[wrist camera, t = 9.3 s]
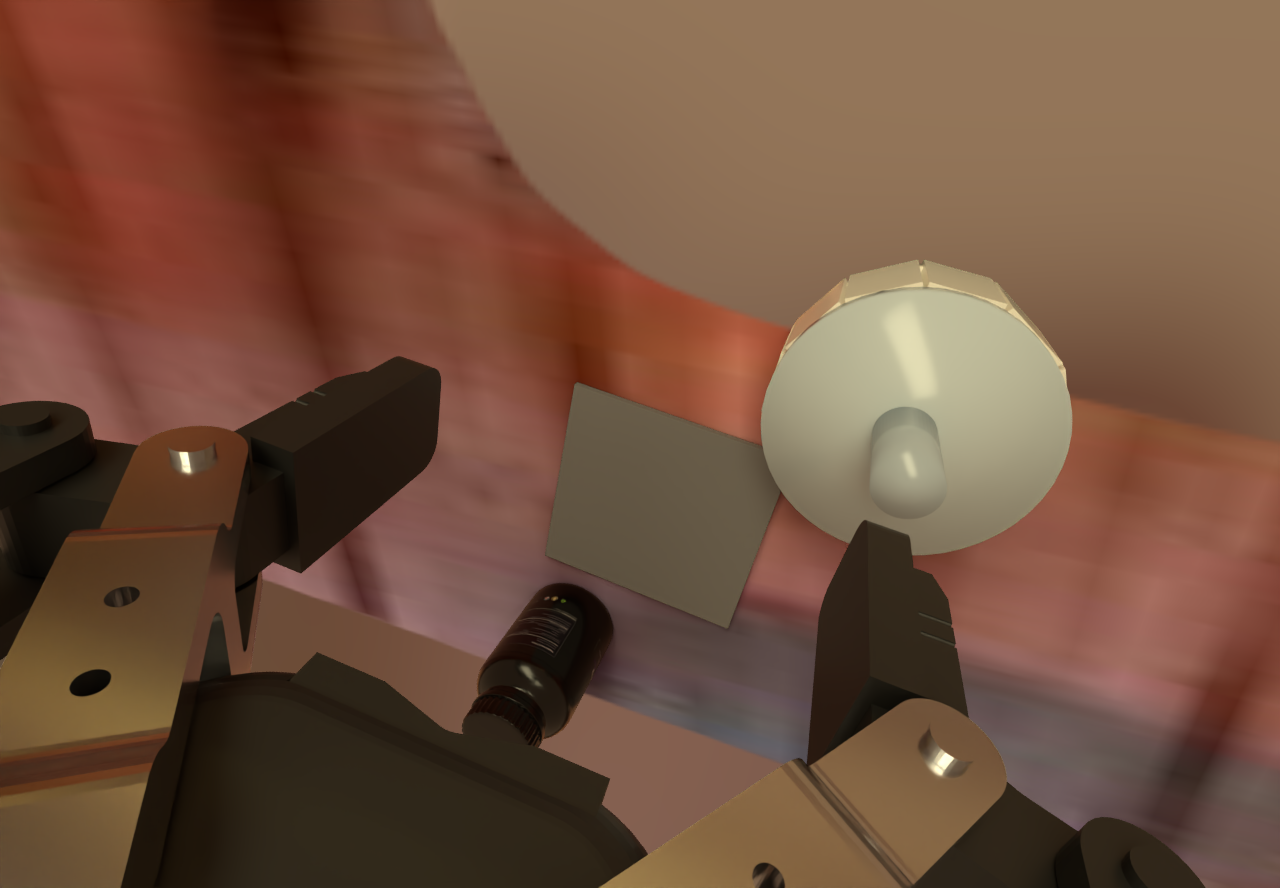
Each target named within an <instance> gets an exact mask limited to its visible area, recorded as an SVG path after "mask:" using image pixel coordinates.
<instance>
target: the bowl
mask: <svg viewBox="0 0 1280 888" xmlns="http://www.w3.org/2000/svg"><path fill="white" fill-rule="evenodd" d="M901 287H934V288H946V289H950V290H955V291H960V292H964V293H968V294H971V295H974V296H976V297H979V298H982V299H985V300H987V301H989V302H991V303H993V304H995V305H997V306H999V307H1001V308H1003V309H1005V310H1006V311H1008V312H1009V313H1011V314H1012V315H1013V316H1015V317H1016V318H1018V319H1019V320H1021V321H1022V322H1023V323H1024V324H1025V325H1026V326H1027V327H1028V328H1029V329H1030V330H1031V331H1032V332H1034V333H1035V334H1036V335H1037V337H1038V338H1039V339H1040V341H1041V342H1042V343H1043V344H1044V346H1045V347H1046V348H1047V350H1048V351H1049V352H1050V354H1051V355H1052V357H1053V358H1054V360H1055V362H1056V364H1057V366H1058V367H1059V369H1060V371H1061V373H1062V375H1063V377H1064V380H1065V383H1066V370H1065V368H1064V367H1063V365H1062V364H1063V363H1062V361H1061V360H1060V359H1059V357H1058V356H1057V354H1056V353H1055V351H1054V350H1053V349H1052V347H1051V346H1050V344H1049V343H1048V342H1047V340H1046V339H1045V337H1044V336H1043V335H1042V333H1041V332H1040V331H1039V329H1038V328H1037V327H1036V326H1035V325H1034V324H1033V322H1032V321H1031V320H1030V319H1029V318H1028V317H1027V316H1026V315H1025V314H1024V312H1023V311H1022V310H1021V309H1020V308H1019V307H1018V306H1017V305H1016V303H1015V302H1014V301H1013V300H1012V299H1011V298H1010V297H1009V295H1008V294H1007V293H1006V292H1005V291H1004V290H1003V289H1002V288H1001V286H999V284H998V283H997V282H995V283H994V282H993V281H992V279H991V278H987V277H984V276H980V275H976V274H973V273H969V272H966V271H962V270H959V269H955V268H951V267H948V266H944V265H941V264H937V263H934V262H930V261H927V260H924V261H923V263H922V264H919V263H918V260H914V261H910V262H906V263H902V264H897V265H893V266H888V267H884V268H880V269H876V270H871V271H867V272H863V273H858V274H854V275H850V278H849V280H848V281H847V280H846V279H845V278H844V279H843V280H842V281H841V282H840V283H838V284H837V285H836V286H835V287H834V288H833V289H832V290H830V291H829V292H828V293H827V294H826V295H825V296H824V297H822V298H821V299H820V300H819V301H818V302H817V303H815V304H814V305H813V306H812V307H811V308H810V309H808V310H807V311H806V312H805V313H804V314H803V315H801V316H800V317H799V318H798V319H797V320H796V323H795V324H794V325H793V327H792V329H791V332H790V334H789V336H788V338H787V341H786V343H785V345H784V347H783V350H782V352H781V355H780V358H779V361H778V363H777V366H778V364H779V362H780V360H781V359H782V357H783V355H784V354H785V352H786V351H787V350H788V348H789V347H790V346H791V345H792V343H793V342H794V341H795V339H796V338H797V337H798V336H799V335H800V334H801V333H802V332H804V331H805V330H806V329H807V328H808V327H809V326H810V325H811V324H812V323H814V322H815V321H816V320H818V319H819V318H820V317H822V316H823V315H824V314H826V313H828V312H830V311H831V310H833V309H835V308H837V307H838V306H840V305H842V304H844V303H846V302H849V301H851V300H854V299H856V298H858V297H861V296H864V295H868V294H871V293H875V292H878V291H882V290H889V289H895V288H901ZM777 366H776V367H777ZM1066 386H1067V385H1066ZM761 411H762V410H761ZM761 416H762V415H761Z"/></svg>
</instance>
